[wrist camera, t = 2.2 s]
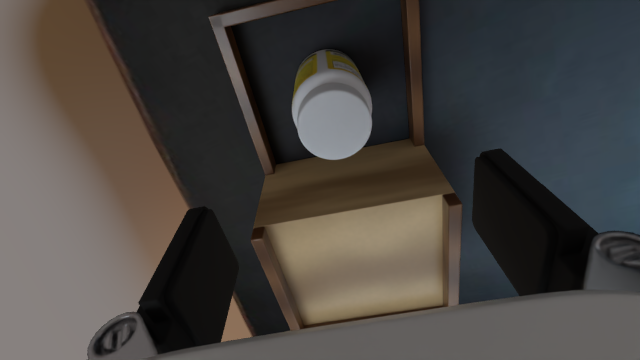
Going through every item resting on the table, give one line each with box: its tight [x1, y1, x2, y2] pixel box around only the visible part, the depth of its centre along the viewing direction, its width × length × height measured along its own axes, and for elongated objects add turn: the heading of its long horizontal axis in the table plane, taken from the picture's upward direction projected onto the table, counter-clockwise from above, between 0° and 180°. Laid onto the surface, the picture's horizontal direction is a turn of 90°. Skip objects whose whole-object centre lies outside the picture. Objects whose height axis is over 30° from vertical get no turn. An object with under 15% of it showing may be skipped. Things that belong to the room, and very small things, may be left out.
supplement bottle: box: [292, 49, 372, 160], centre depth 20 cm, size 5×5×8 cm
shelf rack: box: [209, 0, 462, 331], centre depth 23 cm, size 24×13×9 cm, turn 12°
